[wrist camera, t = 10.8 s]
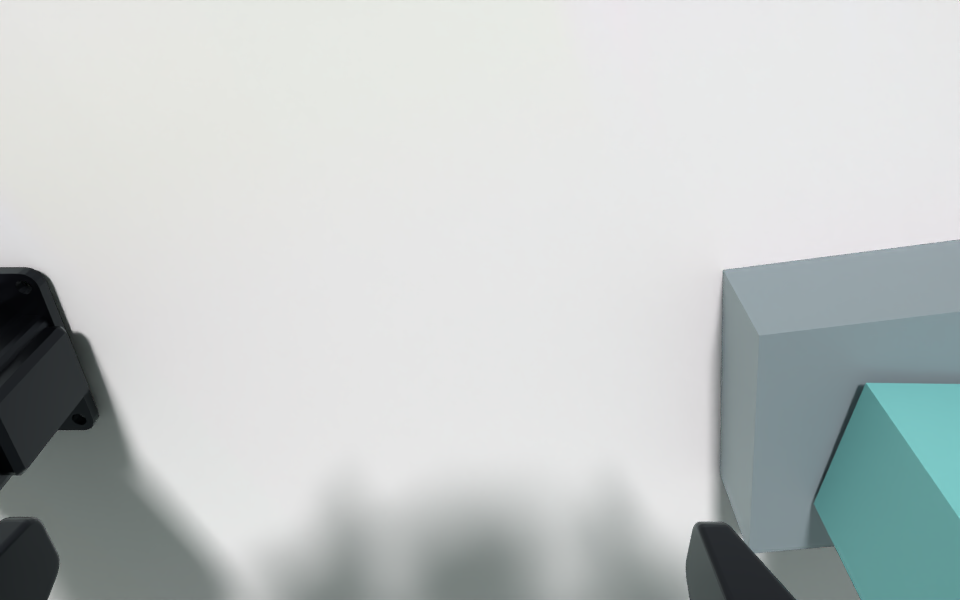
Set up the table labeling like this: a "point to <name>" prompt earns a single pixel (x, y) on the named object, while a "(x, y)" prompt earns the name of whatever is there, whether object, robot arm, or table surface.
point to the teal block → (898, 493)
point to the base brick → (821, 370)
